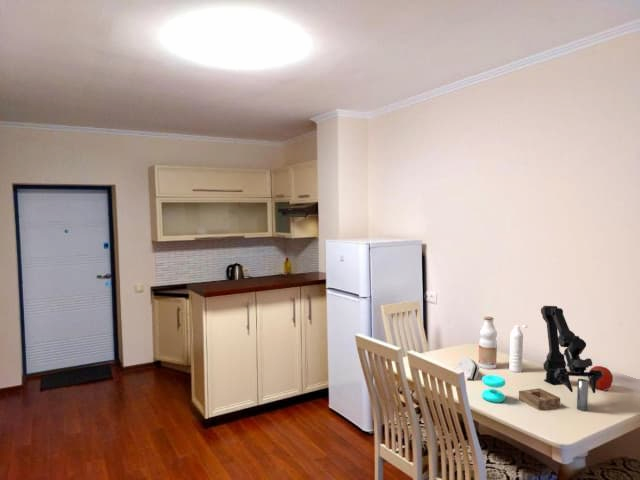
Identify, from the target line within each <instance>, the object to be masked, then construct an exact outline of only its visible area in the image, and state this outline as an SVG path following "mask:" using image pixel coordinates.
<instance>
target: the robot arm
mask: <svg viewBox="0 0 640 480" xmlns="http://www.w3.org/2000/svg"><path fill="white" fill-rule="evenodd" d="M540 313H541V316H542V319H543V320H544V321H545V323H546V330H547V331H546V332H547V340H548V351H549V352H547V355H546V360H545V361H544V363H543V369H544V370H545V371H546V373H545V379H543V381H544V382H546V383H548V384H550V385H561V384H562V385H563V384H564V386H565V387H566V388H567V389H568V390H569V391H570V392H571V393H573V392H574V390H573V385H572V382H571V379H570V377H583V378H584V377H587V378H588V384H589V386H590V388H591V392H592V393H593V394H595V393H596V390H597V389H596V382H597V381H598V380H599V379H600V378H601V377H602V376H603V374H602V372H601V371H600V370H593V369H592V368H590V370H591V371H590V370H589V371H590V372H589V371H587V368H589V367H592V366H593V360H592V358H585V359H581V356H580V355H581V354H582V353H583V351H584V350H585V348H586V347H587V342H586V341H585V340H584V339H582V338H581V337H580V336H579V335H576V334H575V333H574V331H572V330H570V328H569V325H568V323H567V321H566V318H565V316H564V311H563V309H562V308H560V307H558V306H557V305H543V306H542V307H540ZM560 347H561V348H565V349H564V352H563V353H562V352H561V351H560ZM565 359H566V360H565ZM566 367H568V369H567V368H566ZM568 370H569V371H568ZM589 379H590V380H589Z"/></svg>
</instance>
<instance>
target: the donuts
mask: <svg viewBox="0 0 640 480" xmlns="http://www.w3.org/2000/svg"><path fill="white" fill-rule="evenodd" d="M481 380H482V383H483V384H484V385H485V386H487V387H489V388H488V389H485V390H483V391H482V392H481V397H482V398H483V400H485V401H487V402H490V403H502V402H504V400H505V399H506V396H505V394H504V393H503V392H502V391H500V390H497V389H498V388H503V387H504V386H505V385H506V380H505V379H504V377H502V376H499V375H495V374H487V375H484V376H482V378H481Z"/></svg>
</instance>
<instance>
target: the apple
mask: <svg viewBox="0 0 640 480" xmlns="http://www.w3.org/2000/svg"><path fill="white" fill-rule="evenodd" d="M591 369H593V370H600V371H601V372H602V374H603V376H602V377H601V378H600V379H599V380H598V381H597V382H596V390H599V389H600V391H606V390H608V389H610V388H611V386H612V383H613V381H614V379H613V378H614V375H613V374H612V372H611V370H610V369H608V368H607V367H605V366H602V365H600V366H599V365H595V366H593V367H591ZM591 369H589V371H588V372H590V371H591ZM589 380H590V379H589V378H588V381H589ZM605 389H606V390H605Z"/></svg>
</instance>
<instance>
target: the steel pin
mask: <svg viewBox="0 0 640 480" xmlns="http://www.w3.org/2000/svg"><path fill="white" fill-rule="evenodd" d="M576 392H577V393H576V394H577V397H576V410H577V411H581V412H587V411H588V401H589V399H588V397H589V396H588V395H589V379H588V380H587V379H584V378H578V379H577V391H576Z"/></svg>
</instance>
